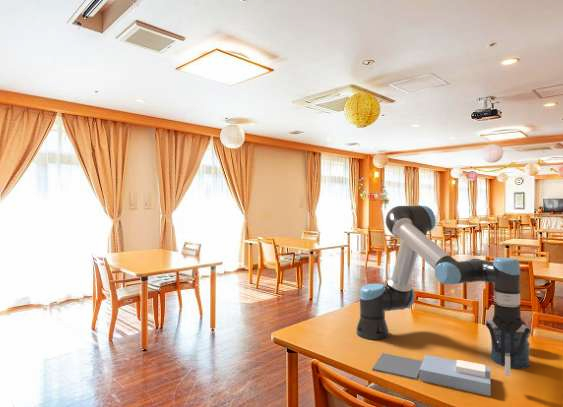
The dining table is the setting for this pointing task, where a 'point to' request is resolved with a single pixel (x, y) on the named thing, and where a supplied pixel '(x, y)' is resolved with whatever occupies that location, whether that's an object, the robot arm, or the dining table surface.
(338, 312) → the dining table surface
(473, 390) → the block
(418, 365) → the mat
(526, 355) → the canister
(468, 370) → the white rectangular block
